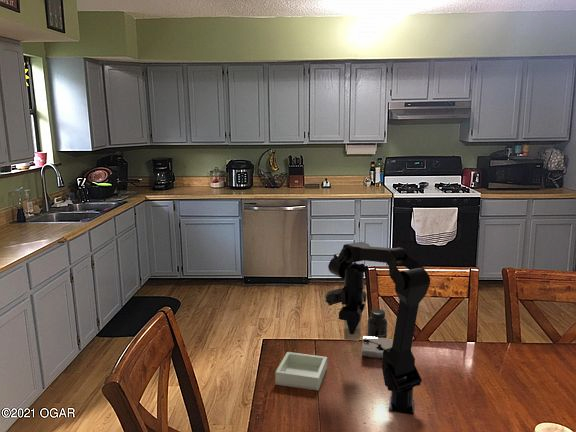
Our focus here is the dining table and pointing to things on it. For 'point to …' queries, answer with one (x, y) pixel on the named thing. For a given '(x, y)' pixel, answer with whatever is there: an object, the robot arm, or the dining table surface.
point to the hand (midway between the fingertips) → (352, 330)
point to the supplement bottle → (377, 324)
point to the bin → (301, 371)
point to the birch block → (356, 334)
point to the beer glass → (375, 346)
